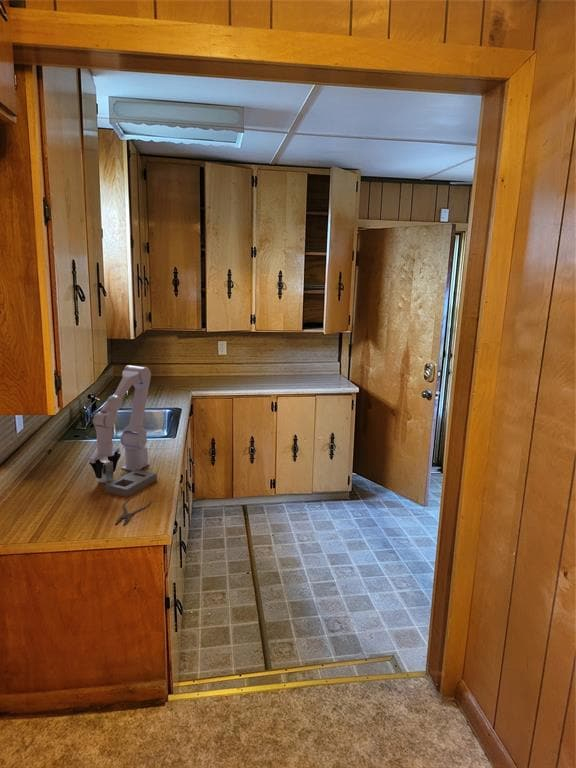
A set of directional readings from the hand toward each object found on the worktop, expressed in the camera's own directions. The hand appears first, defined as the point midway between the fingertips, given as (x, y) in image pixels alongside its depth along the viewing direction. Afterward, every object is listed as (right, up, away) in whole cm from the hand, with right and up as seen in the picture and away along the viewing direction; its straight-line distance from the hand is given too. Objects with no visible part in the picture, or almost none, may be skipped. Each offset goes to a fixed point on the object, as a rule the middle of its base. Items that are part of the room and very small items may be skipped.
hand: (105, 474), depth 192 cm
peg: (0, -3, +1) cm, 3 cm away
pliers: (+19, -9, -24) cm, 32 cm away
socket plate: (+11, -4, -3) cm, 12 cm away
